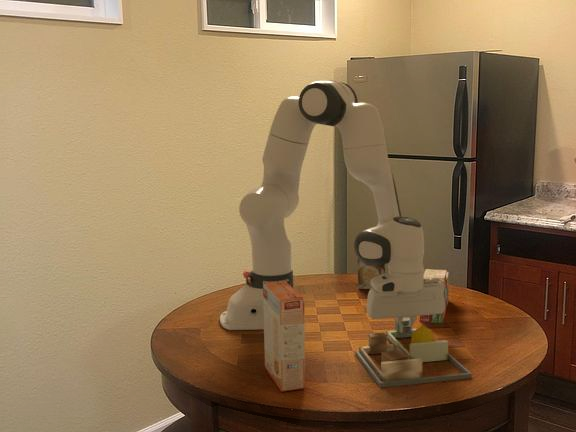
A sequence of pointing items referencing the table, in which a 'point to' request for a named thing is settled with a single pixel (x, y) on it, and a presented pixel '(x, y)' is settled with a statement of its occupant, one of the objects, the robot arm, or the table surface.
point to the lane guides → (464, 375)
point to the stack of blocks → (445, 278)
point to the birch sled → (390, 368)
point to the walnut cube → (393, 356)
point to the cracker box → (284, 335)
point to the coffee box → (368, 274)
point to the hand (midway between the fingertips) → (405, 331)
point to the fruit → (422, 335)
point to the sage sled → (419, 346)
